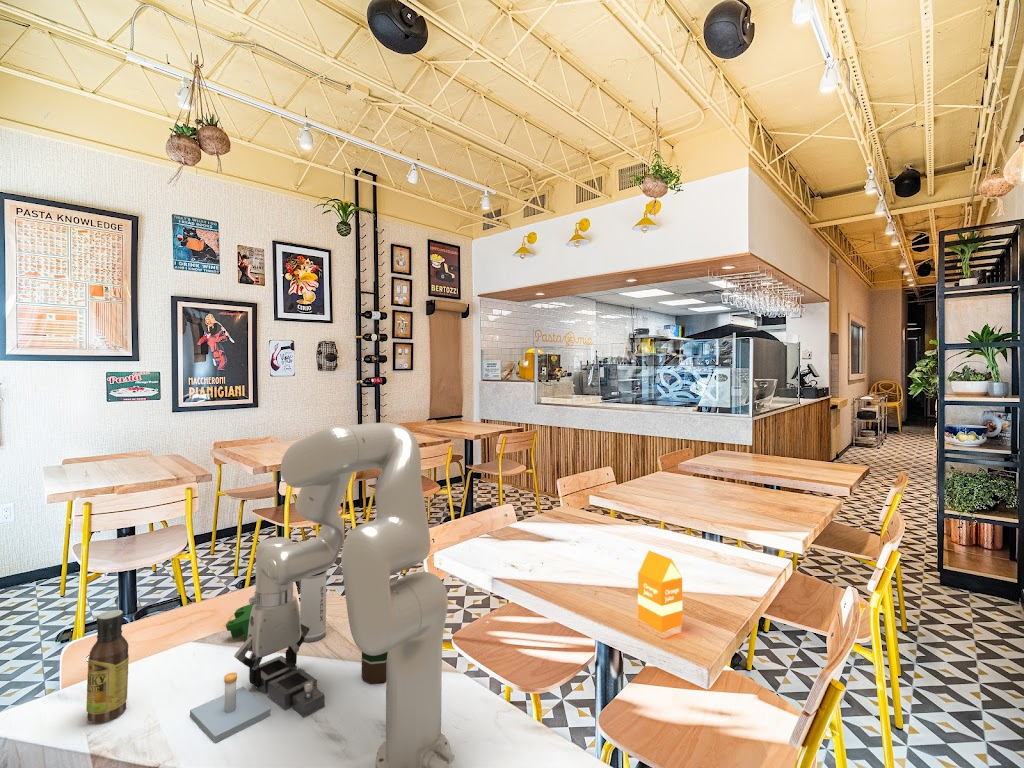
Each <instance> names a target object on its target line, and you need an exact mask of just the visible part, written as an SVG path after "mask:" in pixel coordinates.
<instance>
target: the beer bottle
mask: <svg viewBox="0 0 1024 768" xmlns="http://www.w3.org/2000/svg"><path fill="white" fill-rule="evenodd" d="M387 654H388V652H386V653H383V654H381V655H376V656H371V655H367V654H365V653H363V652H362V651H361V679H362V681H364V682H366V683H368V684H370V685H374V684H383V683H384V682H385V683H386V664H387Z"/></svg>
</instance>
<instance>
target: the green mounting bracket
mask: <svg viewBox="0 0 1024 768" xmlns="http://www.w3.org/2000/svg"><path fill="white" fill-rule="evenodd" d="M253 605H255V604H250V603H249V604H247V605H244V606H242V607H239V608H237V609H236V610H235V612H234V613H233V614H234V619H231V620H228V621H227V623H226V624H225V627H226V631H228V632H230V635H231V638H232V640H233V639H236V638H237V639H238V638H240V637H243V636H244V639H245V641H247V639H248V627H249V620H250V615H251V610H252V607H253Z"/></svg>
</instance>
